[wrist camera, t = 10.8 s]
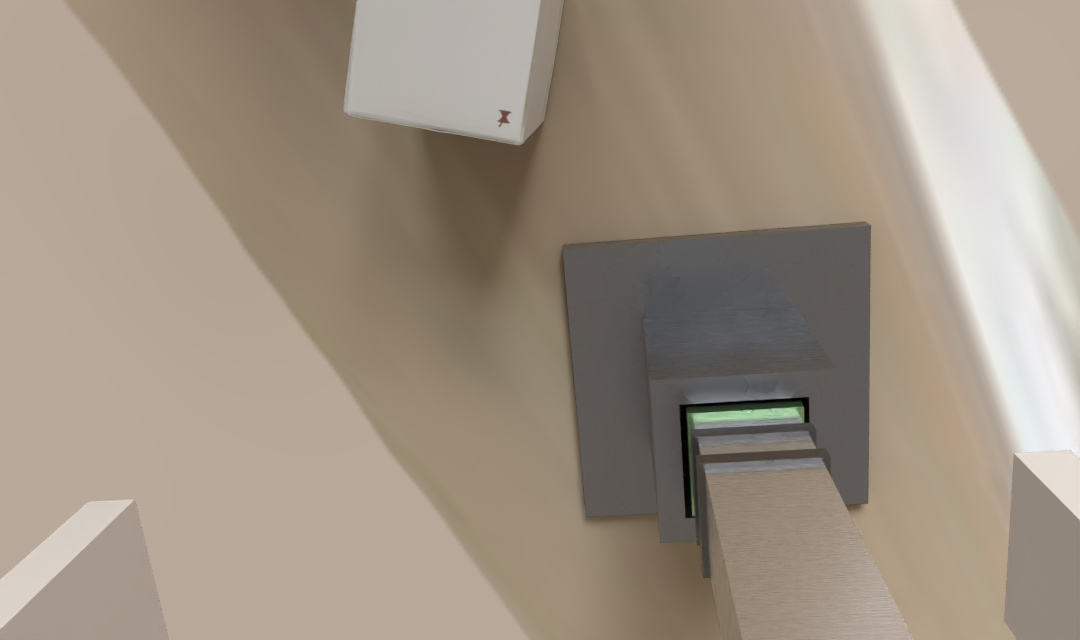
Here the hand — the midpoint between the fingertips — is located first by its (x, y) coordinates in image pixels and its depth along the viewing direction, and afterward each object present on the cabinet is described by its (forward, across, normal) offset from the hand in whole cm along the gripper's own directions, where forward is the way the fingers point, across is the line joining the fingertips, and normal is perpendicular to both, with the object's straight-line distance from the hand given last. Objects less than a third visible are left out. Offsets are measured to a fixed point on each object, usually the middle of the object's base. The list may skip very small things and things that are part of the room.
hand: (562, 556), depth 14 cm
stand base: (+37, +6, -11) cm, 39 cm away
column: (+28, +6, -11) cm, 31 cm away
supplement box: (+37, -5, +8) cm, 38 cm away
